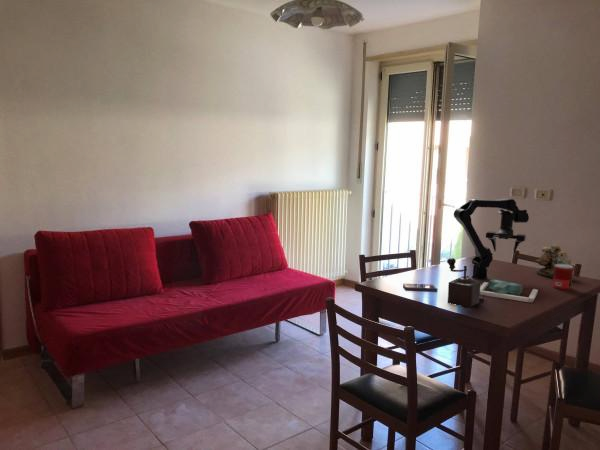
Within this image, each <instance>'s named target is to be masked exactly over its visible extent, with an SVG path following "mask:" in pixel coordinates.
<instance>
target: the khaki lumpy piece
mask: <svg viewBox="0 0 600 450" xmlns="http://www.w3.org/2000/svg"><path fill="white" fill-rule="evenodd" d="M535 262H536V263H537V264H538V266H542V267H541V268H540V269H538V270H536V275H538V276H541V277H544V278H548V279H552V278H553V277H554V266H555V264H566V265H571V263H572V260H571V258H570V257H569V256H568V254H567V252H565V251H563V250H562V248H561V246H560V245H559V244H552V245H551V247H549V246H544V247H542V250H541V253H540V256H539V259H536V260H535Z"/></svg>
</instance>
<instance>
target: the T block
mask: <svg viewBox="0 0 600 450" xmlns="http://www.w3.org/2000/svg"><path fill="white" fill-rule="evenodd" d="M488 290H492V292H495V293H502V294H511V295H516V296H521V294H522V293H523V284H522V283H521V284H520V283H515V282H510V281H505V280H500V279H490V280H489V281H488Z"/></svg>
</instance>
